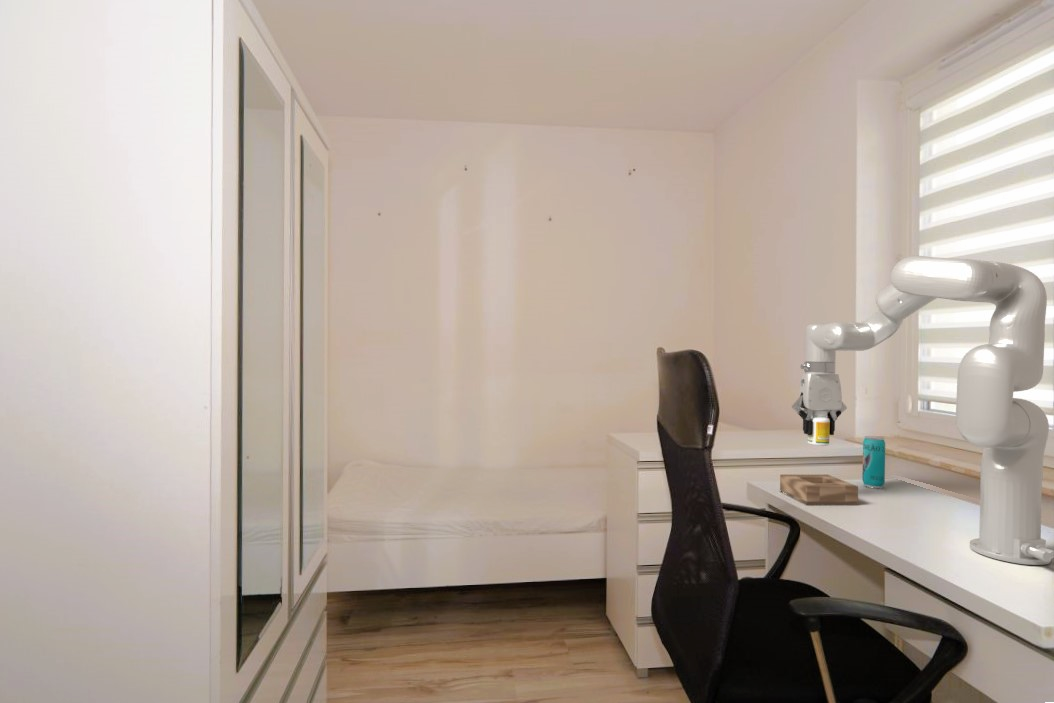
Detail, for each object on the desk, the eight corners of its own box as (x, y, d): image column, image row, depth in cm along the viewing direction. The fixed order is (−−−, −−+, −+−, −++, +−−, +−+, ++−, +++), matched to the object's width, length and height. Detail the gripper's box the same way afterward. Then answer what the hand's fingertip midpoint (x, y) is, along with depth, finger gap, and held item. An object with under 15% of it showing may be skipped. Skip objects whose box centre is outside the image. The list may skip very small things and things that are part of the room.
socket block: (857, 505, 151) (858, 486, 151) (806, 505, 151) (806, 486, 150) (827, 491, 165) (827, 474, 165) (780, 491, 164) (780, 474, 164)
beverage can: (858, 484, 175) (859, 435, 175) (877, 484, 175) (878, 435, 175) (868, 489, 170) (869, 438, 169) (888, 489, 169) (889, 438, 169)
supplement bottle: (804, 444, 158) (804, 409, 158) (812, 442, 162) (813, 408, 162) (824, 446, 154) (824, 411, 154) (832, 444, 157) (833, 410, 157)
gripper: (796, 368, 153) (795, 436, 153) (858, 369, 154) (857, 436, 154) (782, 367, 161) (781, 432, 161) (841, 368, 162) (840, 432, 162)
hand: (818, 433), depth 158 cm, fingers closed on supplement bottle, 5 cm apart
